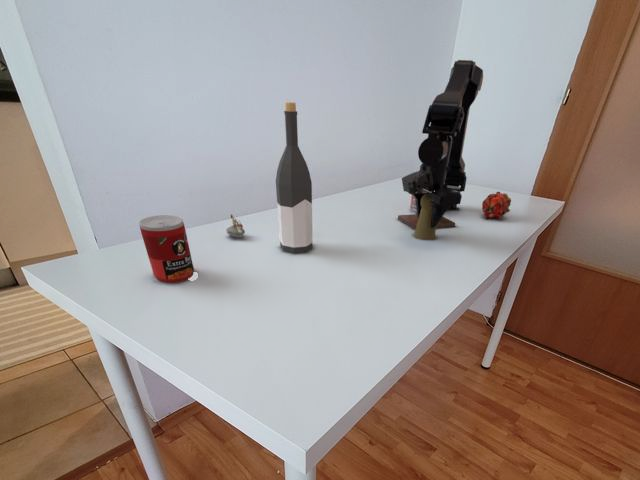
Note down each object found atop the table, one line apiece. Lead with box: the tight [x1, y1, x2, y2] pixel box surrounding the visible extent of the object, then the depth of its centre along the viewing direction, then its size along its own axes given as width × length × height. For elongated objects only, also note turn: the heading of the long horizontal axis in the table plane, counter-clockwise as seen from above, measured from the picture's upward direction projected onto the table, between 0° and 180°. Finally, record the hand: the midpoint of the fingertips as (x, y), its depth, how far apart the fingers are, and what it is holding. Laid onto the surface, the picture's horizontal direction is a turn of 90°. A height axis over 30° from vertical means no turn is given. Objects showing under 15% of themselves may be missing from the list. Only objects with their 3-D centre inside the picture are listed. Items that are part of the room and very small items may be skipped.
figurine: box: [225, 213, 246, 238], centre depth 92 cm, size 5×4×6 cm
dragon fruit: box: [481, 191, 512, 220], centre depth 119 cm, size 8×8×12 cm
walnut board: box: [397, 213, 456, 231], centre depth 112 cm, size 14×11×1 cm
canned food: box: [138, 214, 195, 284], centre depth 71 cm, size 8×8×11 cm
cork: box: [413, 194, 437, 241], centre depth 99 cm, size 6×6×11 cm
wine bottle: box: [275, 101, 314, 255], centre depth 81 cm, size 8×8×30 cm
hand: (426, 223), depth 100 cm, fingers closed on cork, 6 cm apart
